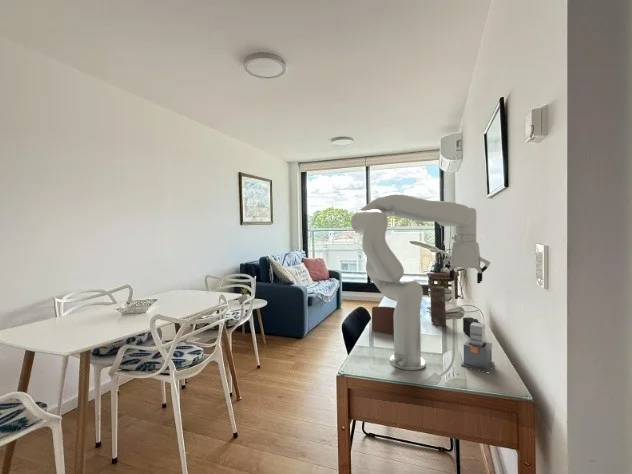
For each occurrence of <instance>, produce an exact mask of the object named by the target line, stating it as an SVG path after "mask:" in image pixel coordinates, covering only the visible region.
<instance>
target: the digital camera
mask: <svg viewBox="0 0 632 474" xmlns="http://www.w3.org/2000/svg"><path fill="white" fill-rule="evenodd" d="M473 322H474V323H480V324H482V323H481V322H479V319H477V318H473V317H463V318H462V325H463V326H462V329H463V330H462V332H463V333H465V334H466V335H467V336H469V337H470V325H471V324H472V323H473Z"/></svg>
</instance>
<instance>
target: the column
mask: <svg viewBox="0 0 632 474" xmlns="http://www.w3.org/2000/svg"><path fill="white" fill-rule="evenodd" d="M480 323H481V322H480ZM480 323H474V322H473V323H472V324H471V325H470V336H469V339H470V345H473V346H478V347H482V348H484V347H485V342H486V324H485V323H481V324H480Z"/></svg>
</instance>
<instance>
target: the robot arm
mask: <svg viewBox="0 0 632 474" xmlns="http://www.w3.org/2000/svg"><path fill="white" fill-rule="evenodd" d="M388 217H396V218H401V219H407V220H411V221H415V222H422V223H427V222H428V223H431V222H432V223H435V222H436V223H437V224H438V225H439V226H441V227H455V234H454V235H452V236H451V240H454V241H455V242H453V243H452V246H451V256H448V257H447V258H444V259H442V262H443V264H444V267H446V268H447V270H448V271H449V279H450V282H453V281H455V280H456V271H455V269H456V268H466V269H475V270H476V271H477V274H476V283H477V284H480V283H482V282H483V273H484V272H485V271H486V270H487V269H488V268H489V266H490V265H491V262H490V261H489V260H487V259H485V258H483V257H481V251H480V244H479V242H478V241H477V210H476V208H474V207H469V206H468V205H464V204H460V203H456V202H452V201H445V200H443V201H442V200H435V199H427V198H422V197H418V196H413V195H409V194H404V193H401V192H391V193H386V194H383V195H382V194H381V195H379V196H377V197H376V198H374V199H373V200H371V201H370V202H368V203H367V204H366V205H364V206H363V207H361V208H360V209H359V210H357V211H356V212H355V213H354V214H353V215H352V217H351V220H350V225H351V228H352V230H353V231H355V233H358V234H361V235H362V241H361V243H362V251H363V253H364V255H365V257H366V258H367V261H366V263H365V270H366V274H367V276H368V277H369V278H370V280H371V282H372V283H373V284H374V285H375V286H376V288H377V289H378V290H379V292H380V293H381V294H382V295H383V296H384V297H385V298H387V299H388V300H389V299H390V300H392V301H394V302H396V305H395V307H394V308H395V310H394V317H393V318H394V335H393V354H392V355H391V356H390V358H389V364H390V365H391V366H393V367H395V368H397V369H400V370H405V371H418V370H421V369H424V368H425V367H426V360H425V359H424V358H423V357H422V346H421V345H422V344H421V343H422V342H421V341H422V339H421V338H422V337H421V336H422V335H421V334H422V333H421V331H422V330H421V309H422V300H423V296H424V291H423V287H422V285H421V284H420V283H419V282H418V281H417V280H415V279H414V278H412V277H411V278H410V277H404V273H405V269H404V266H403V265H402V262H401V261H400V259H398V257H397V256H396V255H395V253H394V252H393V250H392V249H391V248H390V246H389V245H388V243H387V240H386V232H387V229H388V222H389V220H388ZM449 261H450V264H449ZM481 263H484V265H483V266H482V267H481Z"/></svg>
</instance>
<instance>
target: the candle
mask: <svg viewBox="0 0 632 474" xmlns="http://www.w3.org/2000/svg"><path fill="white" fill-rule="evenodd" d="M429 289H430V291H429V292H430V321H431V323H433V325H437V326H439V327H443V326H445V325H447V313H446V309H447V308H446V291H445V290H446V288H445V287H444V286H430V288H429Z"/></svg>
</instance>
